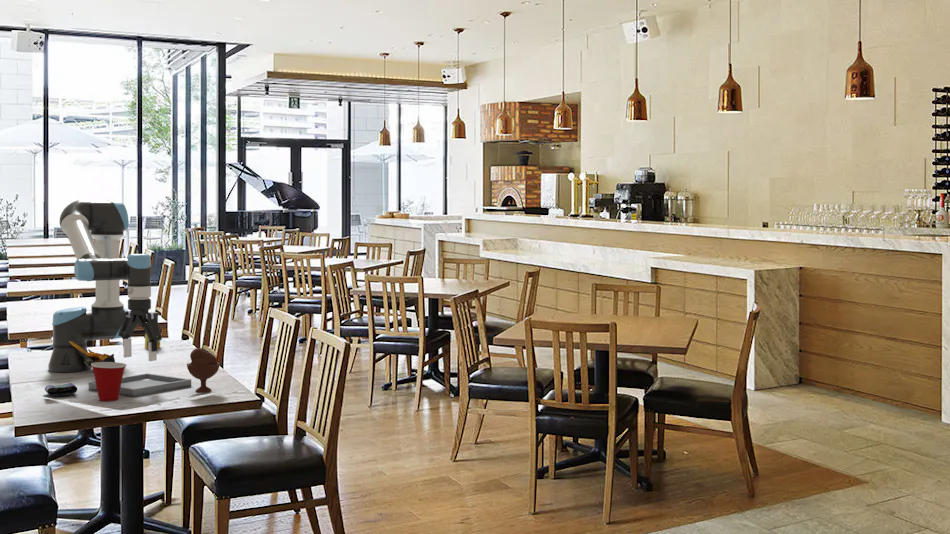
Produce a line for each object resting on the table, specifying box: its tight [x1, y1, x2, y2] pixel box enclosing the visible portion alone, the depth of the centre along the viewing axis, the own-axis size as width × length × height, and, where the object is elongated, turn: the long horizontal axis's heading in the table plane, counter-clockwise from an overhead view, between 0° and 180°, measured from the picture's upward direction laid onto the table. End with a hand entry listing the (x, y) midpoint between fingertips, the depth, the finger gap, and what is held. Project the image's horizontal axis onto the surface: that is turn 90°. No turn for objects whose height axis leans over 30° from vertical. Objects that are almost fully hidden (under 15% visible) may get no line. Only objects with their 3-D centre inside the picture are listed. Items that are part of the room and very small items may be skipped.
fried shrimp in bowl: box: [69, 340, 116, 367], centre depth 334 cm, size 9×11×18 cm
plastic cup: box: [91, 361, 127, 402], centre depth 288 cm, size 11×11×12 cm
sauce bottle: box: [144, 311, 161, 350], centre depth 381 cm, size 6×6×20 cm
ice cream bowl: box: [186, 347, 221, 394], centre depth 303 cm, size 11×11×15 cm
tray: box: [88, 372, 192, 398], centre depth 309 cm, size 24×24×2 cm
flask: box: [44, 382, 78, 396], centre depth 297 cm, size 9×3×11 cm
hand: (139, 358), depth 309 cm, fingers open, 13 cm apart
